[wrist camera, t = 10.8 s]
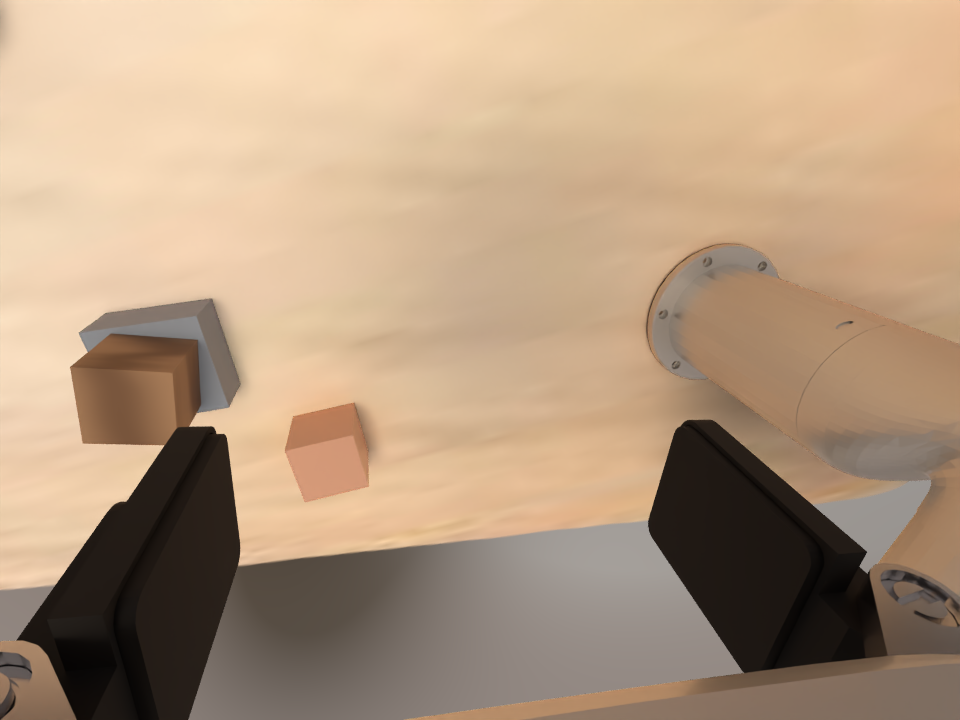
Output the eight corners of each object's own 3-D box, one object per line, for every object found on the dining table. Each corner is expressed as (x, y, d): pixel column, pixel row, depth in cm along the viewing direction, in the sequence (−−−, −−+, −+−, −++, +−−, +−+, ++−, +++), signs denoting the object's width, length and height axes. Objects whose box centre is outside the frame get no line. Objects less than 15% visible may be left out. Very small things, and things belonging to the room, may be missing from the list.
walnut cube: (197, 339, 33) (172, 372, 29) (201, 405, 35) (178, 445, 31) (110, 333, 32) (70, 367, 27) (119, 401, 34) (82, 443, 29)
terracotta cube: (353, 402, 42) (352, 435, 37) (368, 450, 44) (368, 486, 39) (293, 415, 41) (284, 451, 37) (310, 463, 43) (304, 502, 39)
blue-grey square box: (212, 297, 36) (196, 316, 32) (241, 382, 39) (229, 407, 36) (107, 312, 35) (78, 332, 31) (145, 397, 38) (122, 425, 34)
